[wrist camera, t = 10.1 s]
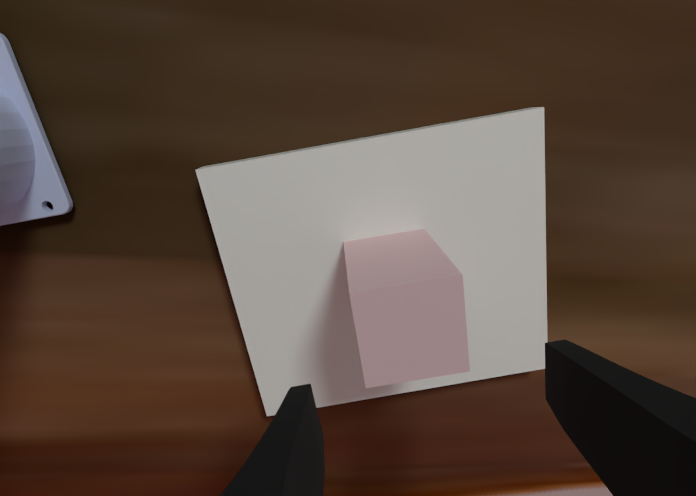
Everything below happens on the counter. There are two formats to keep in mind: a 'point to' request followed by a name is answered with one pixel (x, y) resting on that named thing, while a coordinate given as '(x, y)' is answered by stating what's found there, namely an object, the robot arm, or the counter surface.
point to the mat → (376, 220)
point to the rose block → (406, 308)
